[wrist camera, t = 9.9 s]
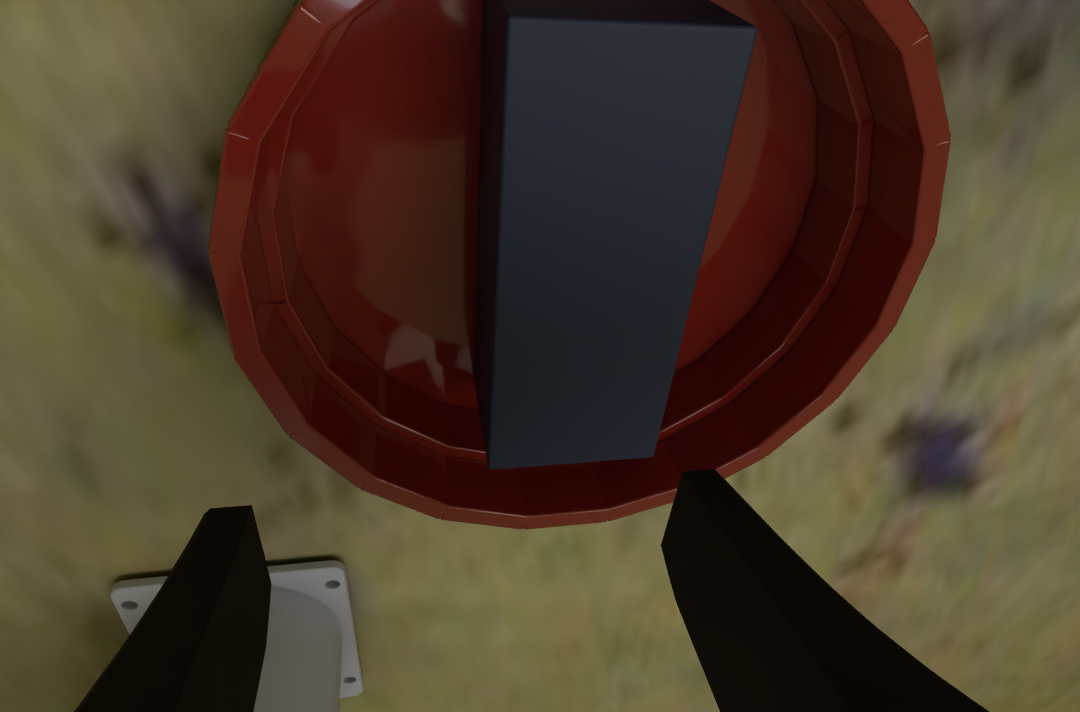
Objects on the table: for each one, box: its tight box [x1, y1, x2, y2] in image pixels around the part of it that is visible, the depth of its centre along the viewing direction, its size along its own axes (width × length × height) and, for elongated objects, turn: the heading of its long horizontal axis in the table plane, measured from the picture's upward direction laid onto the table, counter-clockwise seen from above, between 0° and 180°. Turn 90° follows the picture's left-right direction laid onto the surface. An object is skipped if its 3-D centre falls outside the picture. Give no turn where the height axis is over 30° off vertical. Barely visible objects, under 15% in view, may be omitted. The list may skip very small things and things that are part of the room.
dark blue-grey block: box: [474, 0, 757, 470], centre depth 17 cm, size 11×5×4 cm, turn 175°
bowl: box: [208, 0, 951, 529], centre depth 17 cm, size 16×16×4 cm
